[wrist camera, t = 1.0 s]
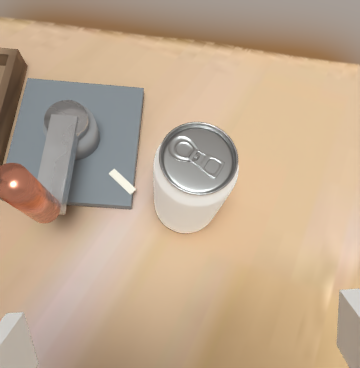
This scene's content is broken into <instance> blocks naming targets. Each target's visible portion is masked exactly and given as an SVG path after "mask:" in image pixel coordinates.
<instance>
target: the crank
mask: <svg viewBox="0 0 360 368" xmlns="http://www.w3.org/2000/svg"><path fill="white" fill-rule="evenodd" d="M44 124H45V127H46V129H47V130H48V132H47V136H46V141H45V146H44V150H43V155H42V160H41V164H40V169H39V174H38V178H37V179H36V178H35V177H34V176H33V175H32V174H31V173H30V172H29V171H28V170H27V169H26V168H25V167H24V166H22V165H21V164H18V163H6V164H4V165H1V166H0V198H1V199H2V200H4V201H6V202H7V203H9V204H10V205H12V206H13V207H15V208H17V209H18V210H20V211H21V212H23V213H24V214H26V215H27V216H29V217H31V218H32V219H34V220H35V221H37V222H39V223H49V222H51V221H53V220H54V219H56V218H57V216H58V215H59V214H65V212H66V206H67V201H68V195H69V190H70V184H71V178H72V173H73V167H74V161H75V156H76V150H77V145H78V139H80V138H81V137H83V136H84V135H85V133H86V132H87V130H88V128H89V124H90V121H89V117H88V114H87V112H86V110H85V108H84V107H83V106H82V105H81V104H80V103H78V102H76V101H73V100H62V101H58V102H56V103H54V104H53V105H51V106H50V107H49V108H48V109H47V111H46V113H45V116H44Z"/></svg>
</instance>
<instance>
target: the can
mask: <svg viewBox="0 0 360 368" xmlns="http://www.w3.org/2000/svg"><path fill="white" fill-rule="evenodd" d="M237 177H238V154H237V150H236V147H235V145H234V143H233V141H232V140H231V138H230V137H229V136H228V135H227V134H226V133H225V132H224V131H222V130H221V129H220V128H218V127H216V126H214V125H211V124H208V123H203V122H190V123H186V124H182V125H180V126H178V127H176V128H174V129H173V130H172V131H171V132H169V133H168V134H167V136H166V137H165V138H164V140H163V142H162V143H161V144H160V146H159V147H158V149H157V151H156V154H155V158H154V164H153V182H154V205H155V210H156V213H157V216H158V217H159V219H160V221H161V222H162V223H163V224H164V225H165V226H166V227H168V228H169V229H171V230H173V231H175V232H179V233H193V232H197V231H199V230H201V229H203V228H204V227H205V226H207V225H208V224H209V223H210V221H211V220H212V219H213V217H214V216H215V215H216V213H217V212H218V210H219V209H220V207H221V206H222V205H223V203H224V202H225V200H226V199H227V197H228V196H229V194H230V193H231V191H232V189H233V188H234V186H235V183H236V181H237Z"/></svg>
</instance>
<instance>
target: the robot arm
mask: <svg viewBox="0 0 360 368" xmlns="http://www.w3.org/2000/svg"><path fill="white" fill-rule="evenodd" d="M337 347H338V348H339V350H340V352H341V354H342V355H343V357H344V359H345V361H346V362H347V364H348V366H349V368H360V289H347V290H339V308H338V327H337ZM38 364H39V363H38V359H37V356H36V352H35V349H34V345H33V342H32V338H31V335H30V332H29V328H28V325H27V321H26V318H25V314H24V312H19V313H6V315H5V316H4V317H3V318H2V320H1V321H0V368H37V366H38Z"/></svg>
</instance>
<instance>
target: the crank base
mask: <svg viewBox="0 0 360 368" xmlns="http://www.w3.org/2000/svg"><path fill="white" fill-rule="evenodd" d="M143 99H144V88H136V87H124V86H113V85H101V84H89V83H78V82H66V81H54V80H42V79H31V78H28V79H27V83H26V87H25V91H24V95H23V99H22V103H21V107H20V111H19V115H18V119H17V122H16V126H15V130H14V134H13V138H12V142H11V146H10V150H9V154H8V158H7V162H6V163H18V164H21V165H22V166H24V167H25V168H26V169H27V170H28V171H29V172H30V173H31V174H32V175H33V176H34V177H35V178H36V179H37V178H38V174H39V169H40V164H41V160H42V155H43V150H44V146H45V141H46V136H47V132H48V130H47V129H46V127H45V124H44V116H45V113H46V111H47V109H48V108H49V107H50V106H51V105H53V104H54V103H56V102H58V101H62V100H73V101H76V102H78V103H80V104H81V105H82V106H83V107H84V108H85V110H86V112H87V114H88V117H89V121H90V124H89V128H88V130H87V132H86V133H85V135H84V136H83V137H81V138H80V139H78V145H77V150H76V156H75V161H74V167H73V173H72V178H71V184H70V190H69V195H68V201H67V205H75V206H90V207H105V208H119V209H132V201H133V192H134V191H135V190H136V188H135V187H134V182H135V173H136V164H137V155H138V145H139V136H140V127H141V117H142V108H143ZM0 199H1V198H0ZM1 200H2V199H1ZM3 201H4V200H3Z"/></svg>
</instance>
